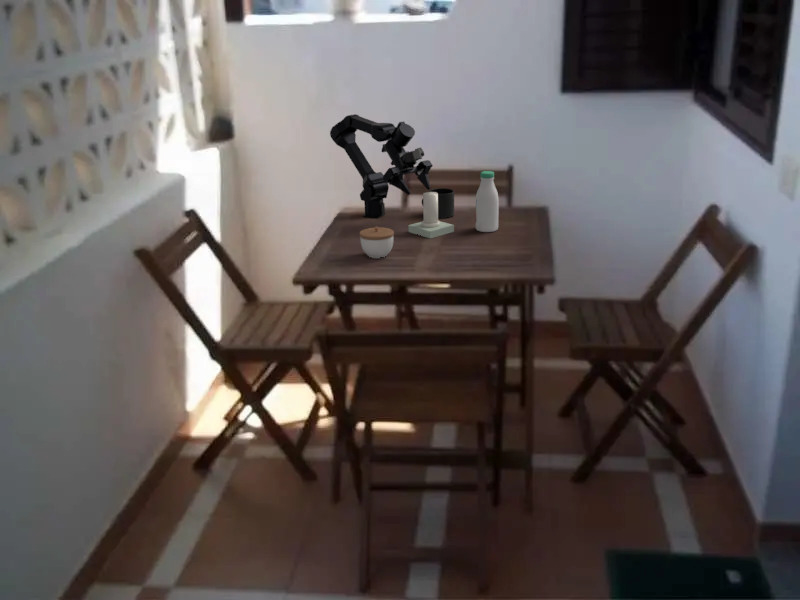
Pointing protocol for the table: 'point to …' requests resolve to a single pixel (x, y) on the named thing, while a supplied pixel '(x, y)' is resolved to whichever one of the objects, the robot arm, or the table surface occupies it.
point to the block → (431, 229)
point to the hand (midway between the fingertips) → (419, 191)
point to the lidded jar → (377, 241)
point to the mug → (444, 202)
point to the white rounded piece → (430, 210)
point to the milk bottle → (487, 204)
